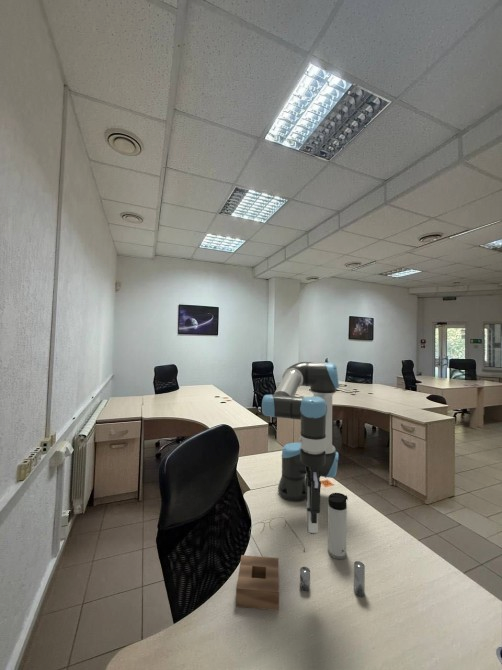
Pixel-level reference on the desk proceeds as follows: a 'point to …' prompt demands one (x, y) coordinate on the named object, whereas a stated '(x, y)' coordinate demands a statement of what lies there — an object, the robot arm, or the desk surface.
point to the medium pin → (359, 578)
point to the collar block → (258, 583)
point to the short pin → (305, 579)
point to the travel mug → (337, 525)
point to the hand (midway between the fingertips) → (312, 527)
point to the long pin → (308, 512)
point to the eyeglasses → (272, 529)
